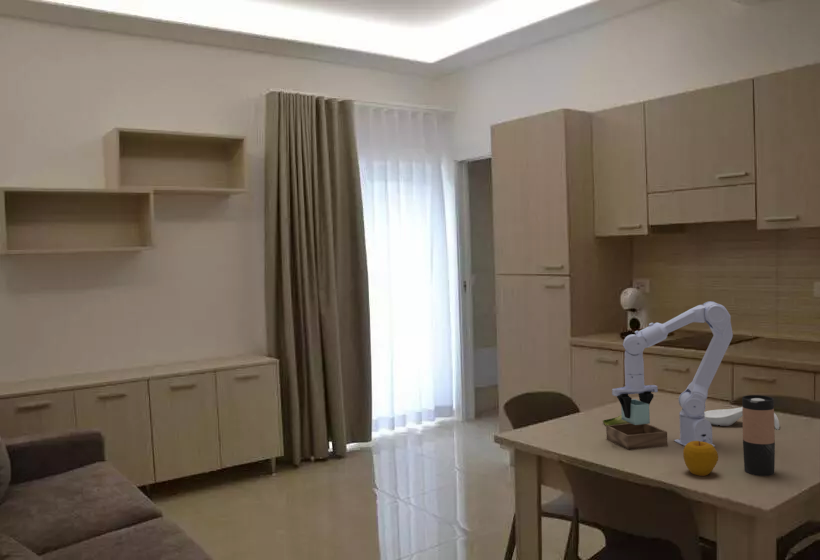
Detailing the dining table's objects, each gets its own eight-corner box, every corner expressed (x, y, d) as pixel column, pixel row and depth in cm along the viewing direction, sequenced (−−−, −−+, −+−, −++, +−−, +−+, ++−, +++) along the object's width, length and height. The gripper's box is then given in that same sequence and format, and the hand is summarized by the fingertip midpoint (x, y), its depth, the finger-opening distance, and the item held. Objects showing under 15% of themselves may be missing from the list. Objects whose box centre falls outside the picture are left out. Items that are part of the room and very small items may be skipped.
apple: (723, 473, 187) (722, 440, 187) (710, 481, 181) (709, 447, 181) (691, 467, 194) (691, 435, 193) (678, 474, 188) (677, 442, 187)
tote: (635, 417, 223) (635, 399, 223) (649, 423, 215) (649, 404, 215) (621, 419, 222) (621, 400, 222) (635, 425, 214) (634, 405, 214)
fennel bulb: (633, 415, 245) (601, 423, 243) (634, 405, 242) (601, 412, 241) (641, 426, 240) (608, 434, 239) (642, 415, 237) (608, 423, 236)
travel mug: (765, 467, 191) (764, 394, 190) (781, 476, 183) (780, 400, 182) (738, 468, 191) (736, 395, 190) (752, 477, 183) (751, 401, 182)
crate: (667, 446, 214) (667, 431, 214) (628, 450, 211) (627, 436, 211) (644, 435, 227) (643, 421, 226) (606, 439, 224) (606, 425, 224)
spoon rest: (699, 427, 235) (698, 406, 235) (703, 419, 245) (702, 398, 245) (779, 433, 224) (778, 411, 223) (779, 424, 234) (779, 403, 234)
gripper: (648, 369, 223) (649, 411, 224) (606, 373, 220) (608, 416, 221) (660, 373, 216) (662, 416, 217) (618, 376, 213) (619, 421, 214)
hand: (635, 416), depth 218 cm, fingers closed on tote, 5 cm apart
